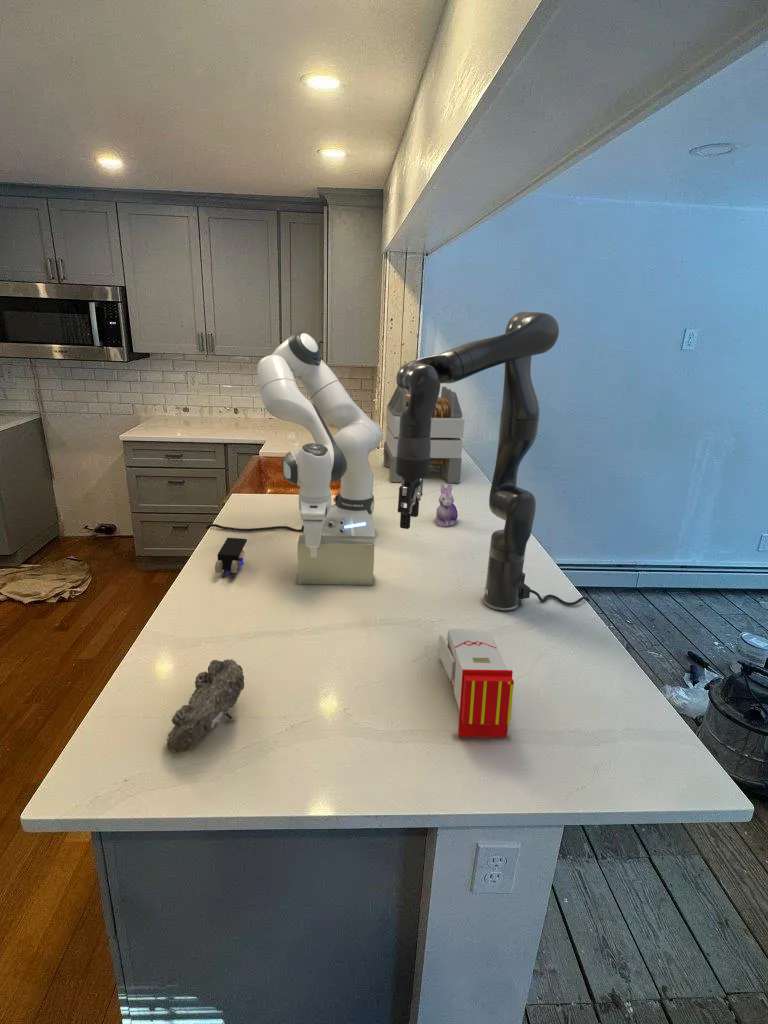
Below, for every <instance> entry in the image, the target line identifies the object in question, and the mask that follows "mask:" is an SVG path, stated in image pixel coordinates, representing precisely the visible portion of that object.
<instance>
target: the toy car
mask: <svg viewBox="0 0 768 1024" xmlns="http://www.w3.org/2000/svg"><path fill="white" fill-rule="evenodd" d="M247 542H248V538H240V537H226V539H225V541H224V543H223V544H222V546H221V547H220V549H219V551H218V552H217V560H216V562H215V564H214V572H215V573H221V577H222V578H224V577H225V576H226V574H227V573H230V574H231V573H232V574H231V578H234V577H235V575H236V573H237V572H239V571H240V567H242V566H243V565H244V564H245V562H244V558H245V551H244V547H245V546H246V544H247Z"/></svg>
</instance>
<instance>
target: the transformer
mask: <svg viewBox="0 0 768 1024" xmlns="http://www.w3.org/2000/svg"><path fill="white" fill-rule="evenodd" d="M440 393H441V394H440V396H438V399H437V403H436V406H435V409H434V412H433V415H432V418H431V435H430V440H431V451H430V465H429V467H436V468H437V470H438V469H439V473H440V474H441V475H443V478H444V479H445V481H446V482H447V483H449V484H450V483H452V484H455V483H456V484H459V483H461V472H462V461H463V460H462V453H463V442H464V441H463V440H462V439H463V438H464V431H465V430H464V429H465V419H464V418H463V411H462V408H461V405H460V402H459V398H458V395H457V392H455V391H453V390H452V389H451V388H447V386H442V387H441V392H440ZM409 401H410V395H408V394H406V393H404V392H402V391H401V390H400V389H399V387H398V385H397V386H396V388H395V390H394V392H393V394H392V395H391V398H390V400H389V402H388V404H387V405H386V413H385V414H386V415H385V423H386V428H385V438H384V442H383V466H384V467H388V468H389V475H388V476H389V477H388V478H389V480H390V482H391V483H402V482H403V477H400V476H398V475H397V474H396V460H397V443H398V438H399V424H400V414H401V411H402V410H403V409H404V408H406V407H408V405H409Z"/></svg>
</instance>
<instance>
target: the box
mask: <svg viewBox="0 0 768 1024" xmlns="http://www.w3.org/2000/svg"><path fill="white" fill-rule="evenodd" d="M374 565H375V537H372V536H330V535H321V541H320V546H319V547H318V548H317V557H316V558H314V557H311V556H310V548H309V547H307V546H306V543H305V535H304V534H299V536H298V541H297V585H298V584H299V585H343V586H344V585H347V586H351V585H352V586H353V585H354V586H373V585H374Z"/></svg>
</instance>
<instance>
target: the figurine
mask: <svg viewBox="0 0 768 1024" xmlns="http://www.w3.org/2000/svg"><path fill="white" fill-rule="evenodd" d="M452 489H453V483H449V484H448V485H447V487H445V485H444V484H443V483H441V484H440V494H439V497H438V503H439V506H438V507H437V508H436V513H435V515H436V517H435V521H434V522H435V523H436V524H437V526H440V527H450V526H454V525H455V524H457V520H458V517H459V516H458V514H459V513H458V510H457V507H456V505H455V504H454V502H455V498H454V495H453V493H452Z"/></svg>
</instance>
